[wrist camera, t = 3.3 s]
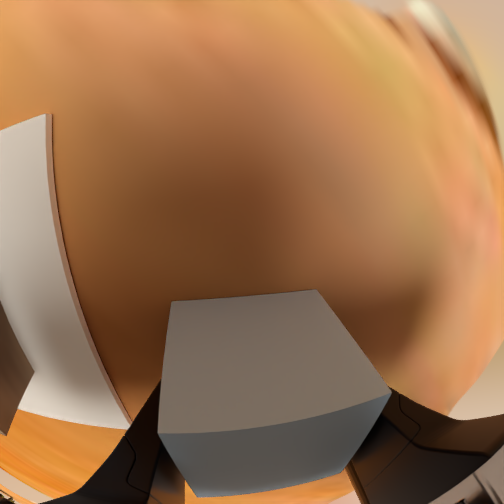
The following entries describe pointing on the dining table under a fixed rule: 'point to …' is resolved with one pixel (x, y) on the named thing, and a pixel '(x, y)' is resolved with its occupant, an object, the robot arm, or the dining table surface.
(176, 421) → the gray cube
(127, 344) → the dining table surface
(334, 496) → the dining table surface
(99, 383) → the felt mat
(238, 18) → the dining table surface
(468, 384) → the dining table surface
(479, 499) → the robot arm
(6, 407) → the walnut base
